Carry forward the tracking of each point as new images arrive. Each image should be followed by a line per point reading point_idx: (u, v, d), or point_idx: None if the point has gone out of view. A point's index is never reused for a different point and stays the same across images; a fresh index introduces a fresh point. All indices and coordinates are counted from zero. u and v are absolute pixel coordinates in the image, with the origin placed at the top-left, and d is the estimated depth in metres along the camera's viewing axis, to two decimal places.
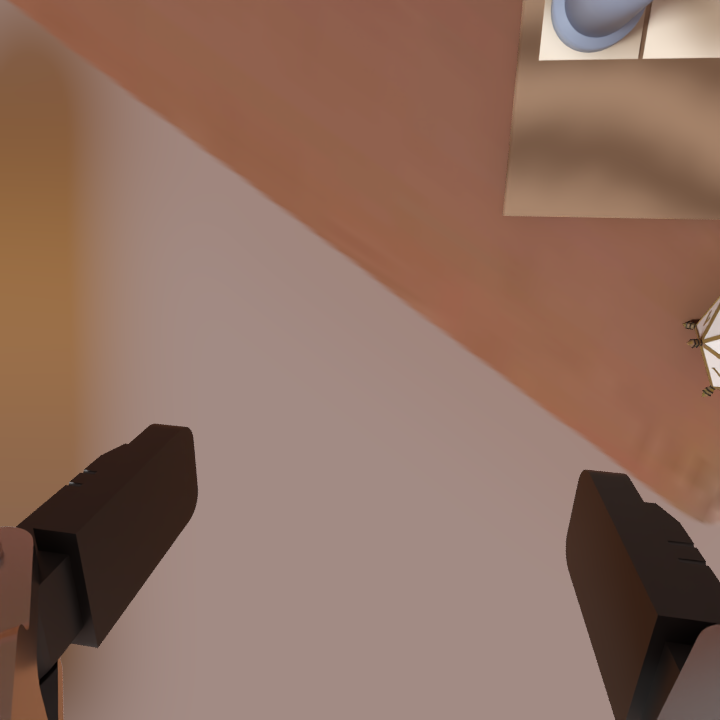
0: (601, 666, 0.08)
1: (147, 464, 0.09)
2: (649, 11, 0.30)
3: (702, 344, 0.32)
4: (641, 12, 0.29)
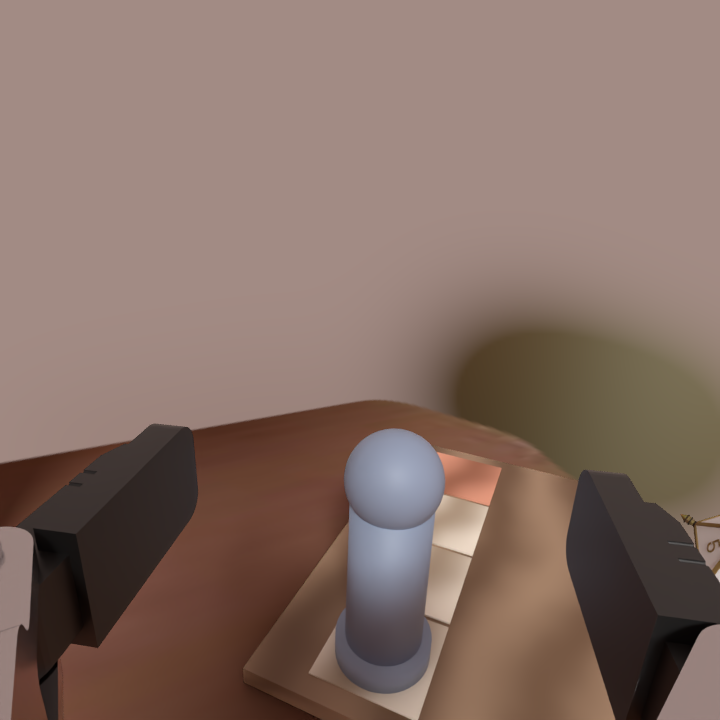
0: (601, 666, 0.08)
1: (147, 464, 0.09)
2: None
3: None
4: None
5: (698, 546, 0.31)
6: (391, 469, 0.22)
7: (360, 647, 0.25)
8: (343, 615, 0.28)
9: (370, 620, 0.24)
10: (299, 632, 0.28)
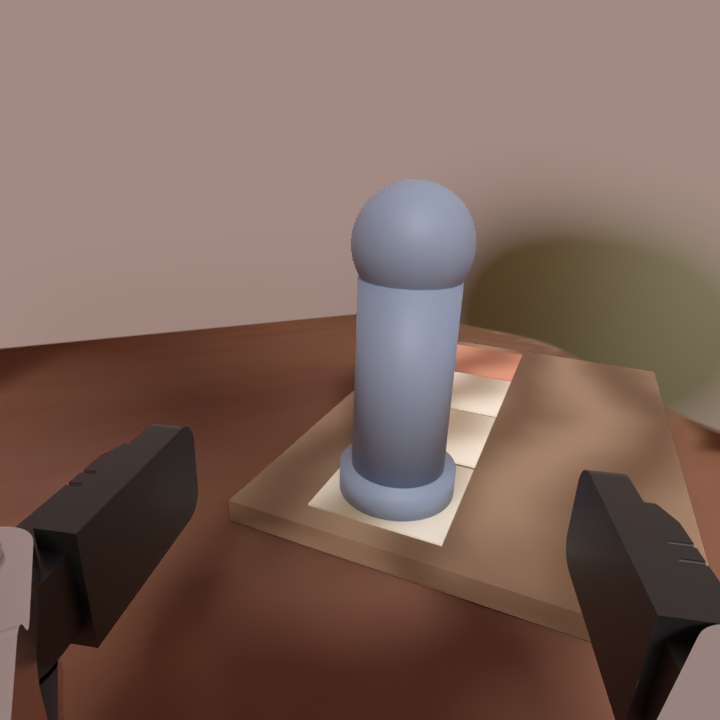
0: (601, 666, 0.08)
1: (147, 464, 0.09)
2: None
3: None
4: None
5: None
6: (411, 202, 0.17)
7: (371, 466, 0.21)
8: (349, 448, 0.23)
9: (383, 425, 0.20)
10: (297, 472, 0.24)
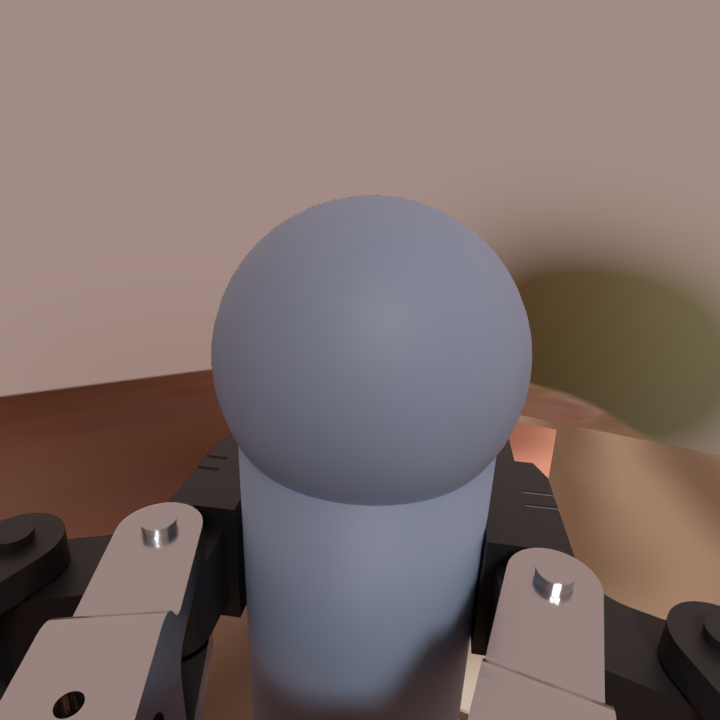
0: None
1: None
2: None
3: None
4: None
5: None
6: (350, 270, 0.06)
7: None
8: None
9: None
10: None
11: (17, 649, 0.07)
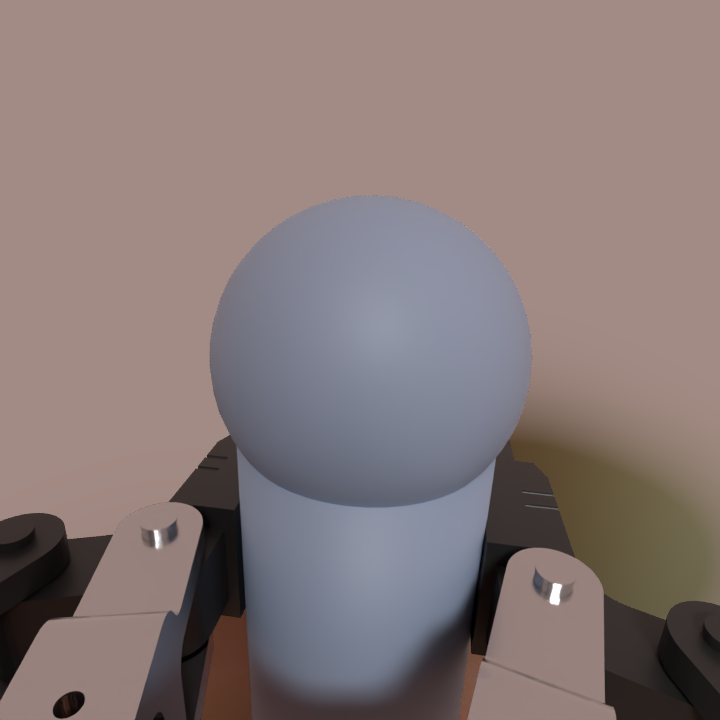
0: None
1: None
2: None
3: None
4: None
5: None
6: (349, 271, 0.06)
7: None
8: None
9: None
10: None
11: (17, 649, 0.07)
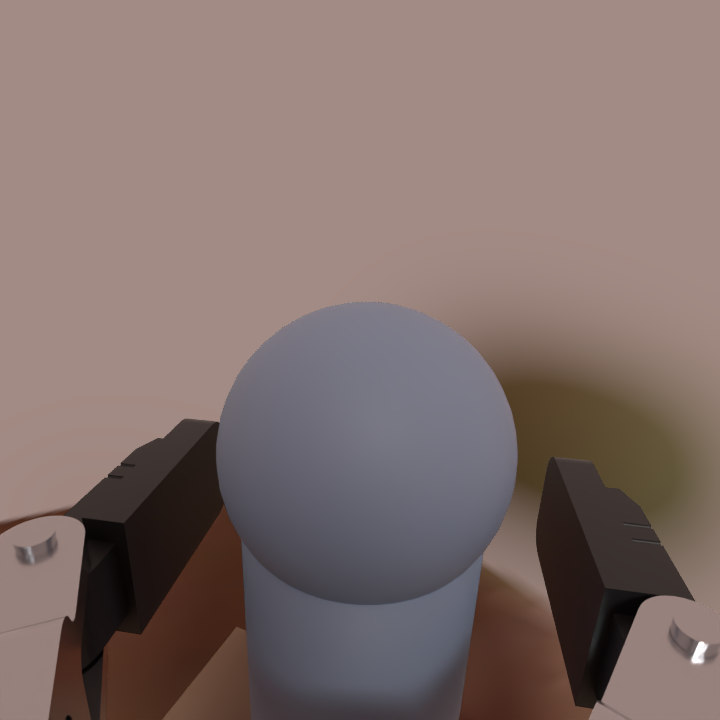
0: (562, 642, 0.08)
1: (184, 457, 0.10)
2: None
3: None
4: None
5: None
6: (347, 399, 0.06)
7: None
8: None
9: None
10: None
11: None
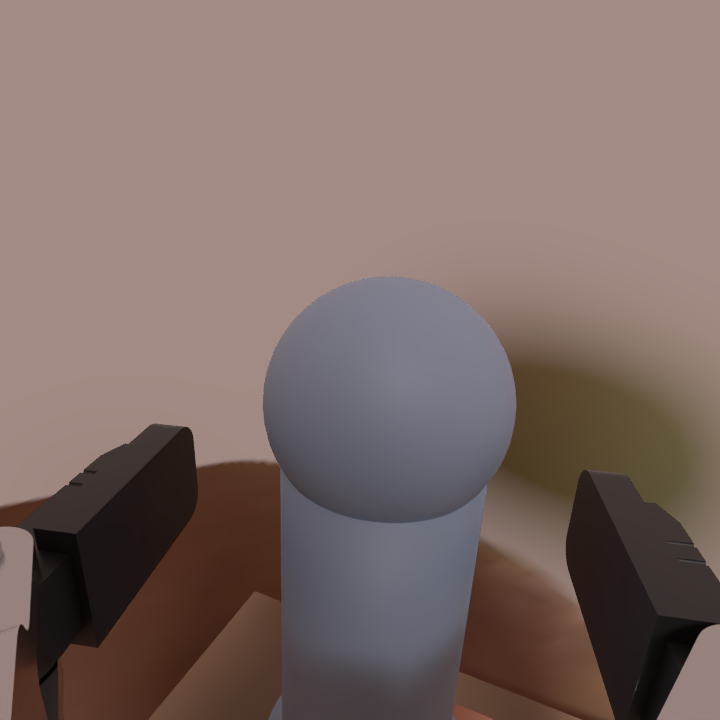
0: (600, 666, 0.08)
1: (147, 464, 0.09)
2: None
3: None
4: None
5: None
6: (379, 347, 0.08)
7: None
8: None
9: None
10: None
11: None
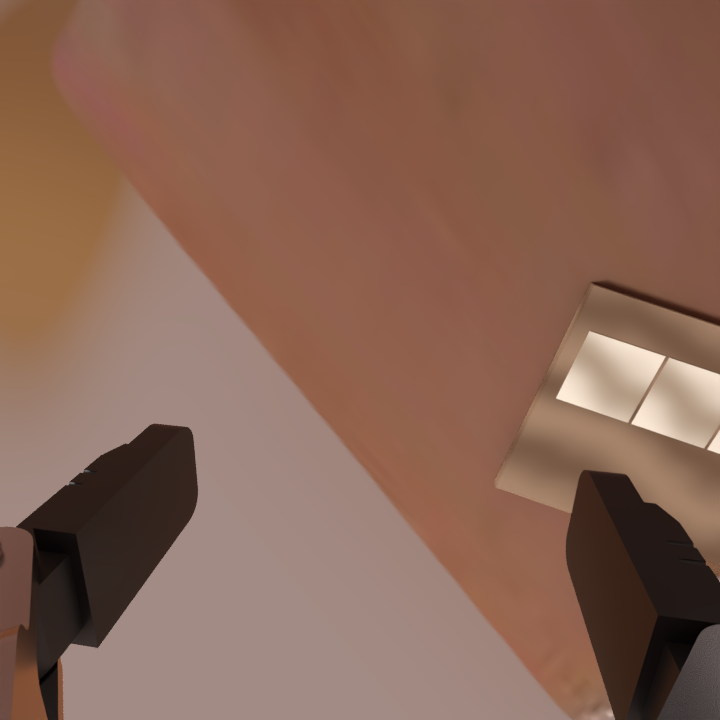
0: (601, 666, 0.08)
1: (147, 464, 0.09)
2: (646, 396, 0.39)
3: None
4: None
5: None
6: None
7: None
8: None
9: None
10: (625, 318, 0.37)
11: None
